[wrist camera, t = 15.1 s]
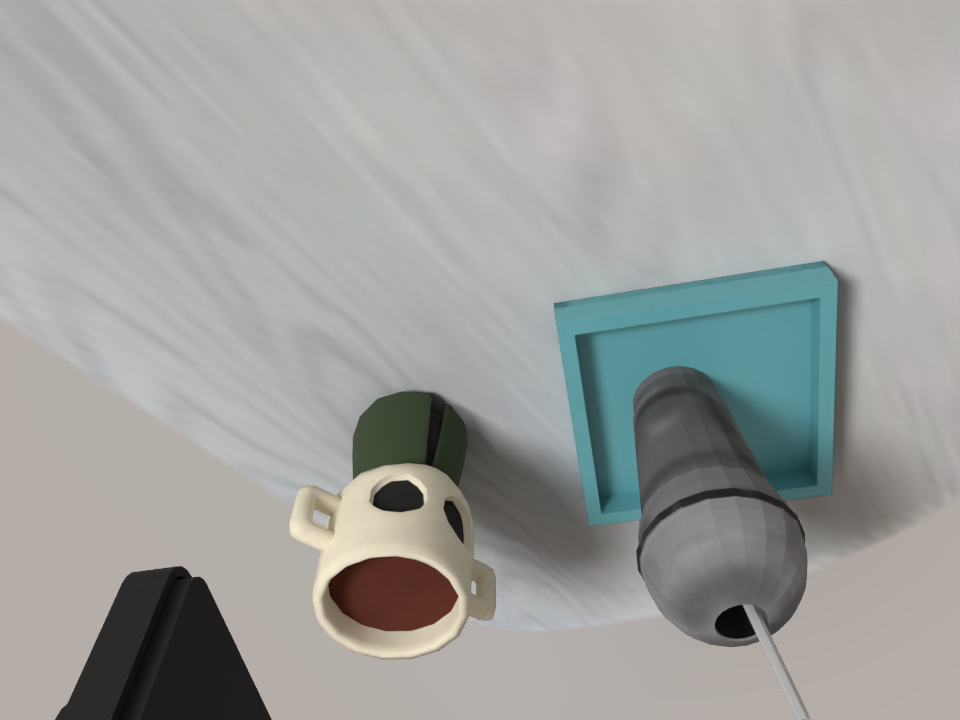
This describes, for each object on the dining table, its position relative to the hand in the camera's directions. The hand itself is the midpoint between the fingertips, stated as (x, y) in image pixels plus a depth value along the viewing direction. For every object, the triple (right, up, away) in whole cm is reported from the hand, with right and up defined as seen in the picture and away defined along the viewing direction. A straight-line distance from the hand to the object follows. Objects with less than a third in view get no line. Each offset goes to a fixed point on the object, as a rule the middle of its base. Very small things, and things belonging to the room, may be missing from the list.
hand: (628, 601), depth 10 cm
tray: (+10, +1, +40) cm, 41 cm away
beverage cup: (+9, +1, +40) cm, 41 cm away
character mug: (-6, -1, +42) cm, 42 cm away
